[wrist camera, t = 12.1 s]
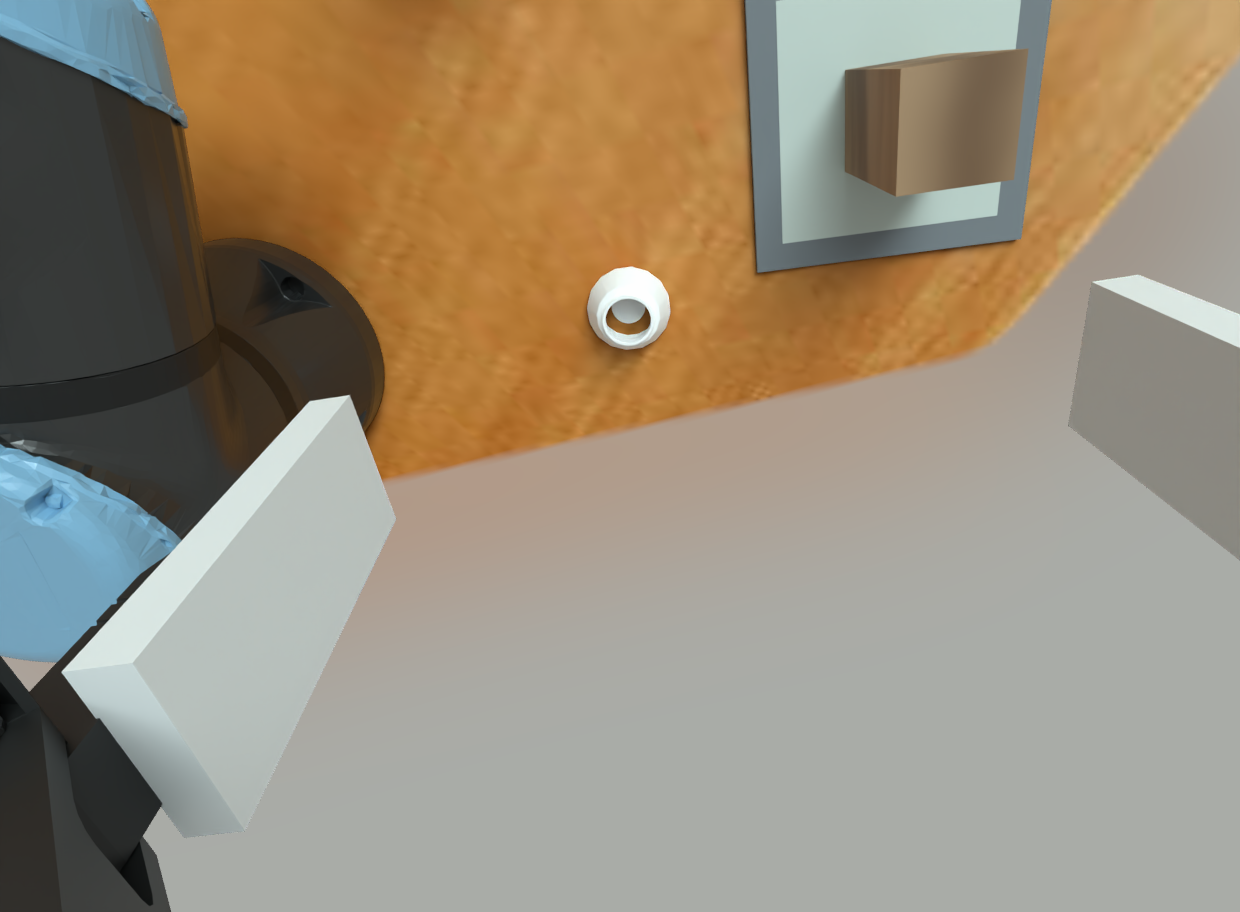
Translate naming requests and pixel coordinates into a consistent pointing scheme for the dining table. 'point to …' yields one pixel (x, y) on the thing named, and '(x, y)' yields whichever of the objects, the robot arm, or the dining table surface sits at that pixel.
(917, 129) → the block
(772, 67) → the coaster
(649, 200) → the dining table surface
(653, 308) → the lidless jar
